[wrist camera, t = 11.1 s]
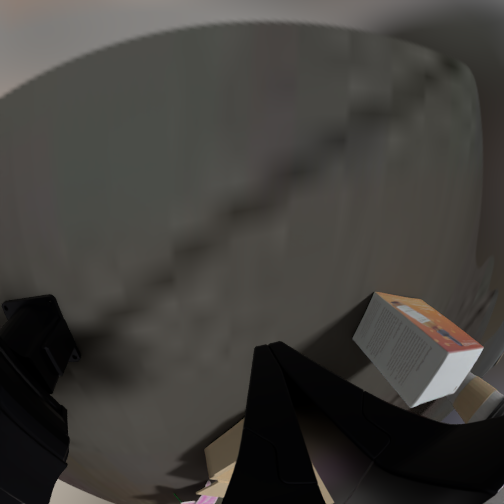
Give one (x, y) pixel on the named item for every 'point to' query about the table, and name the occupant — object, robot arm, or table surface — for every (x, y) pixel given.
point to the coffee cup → (477, 400)
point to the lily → (201, 498)
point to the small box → (415, 347)
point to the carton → (222, 460)
